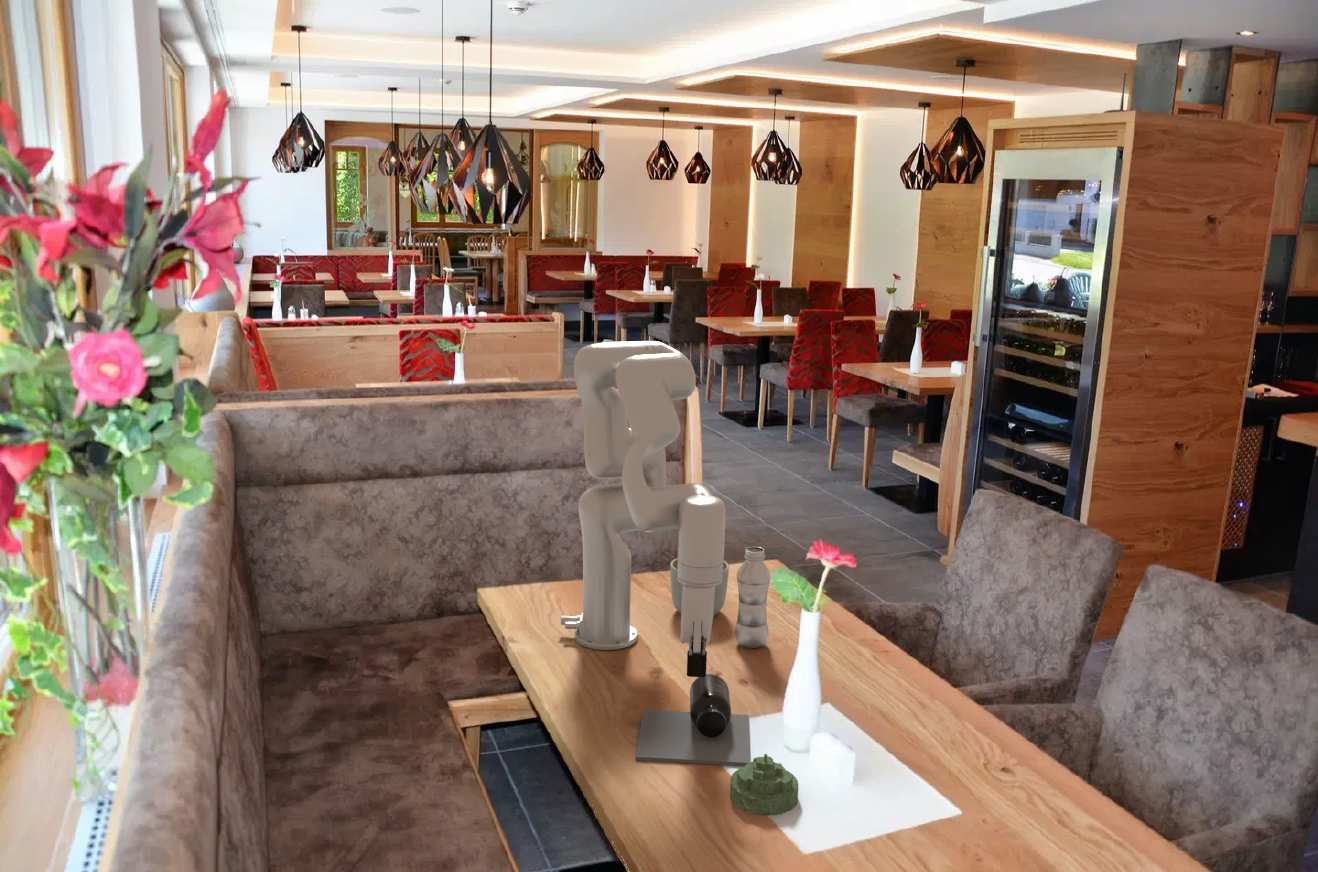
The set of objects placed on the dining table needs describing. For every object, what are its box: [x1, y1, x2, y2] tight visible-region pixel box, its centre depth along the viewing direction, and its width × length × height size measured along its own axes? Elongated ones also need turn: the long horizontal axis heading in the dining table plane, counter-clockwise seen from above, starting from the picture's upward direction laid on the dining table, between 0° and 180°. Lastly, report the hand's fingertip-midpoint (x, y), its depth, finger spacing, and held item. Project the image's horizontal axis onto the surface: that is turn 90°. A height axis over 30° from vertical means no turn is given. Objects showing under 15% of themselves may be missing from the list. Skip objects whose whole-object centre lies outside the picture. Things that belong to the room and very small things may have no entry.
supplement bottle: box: [689, 673, 732, 738], centre depth 177 cm, size 7×7×12 cm
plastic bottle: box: [734, 546, 771, 649], centre depth 210 cm, size 6×7×20 cm
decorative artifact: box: [729, 753, 799, 817], centre depth 158 cm, size 10×7×10 cm
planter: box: [669, 557, 730, 617], centre depth 228 cm, size 12×12×11 cm
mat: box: [635, 709, 751, 767], centre depth 175 cm, size 18×16×1 cm
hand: (696, 674), depth 178 cm, fingers closed
